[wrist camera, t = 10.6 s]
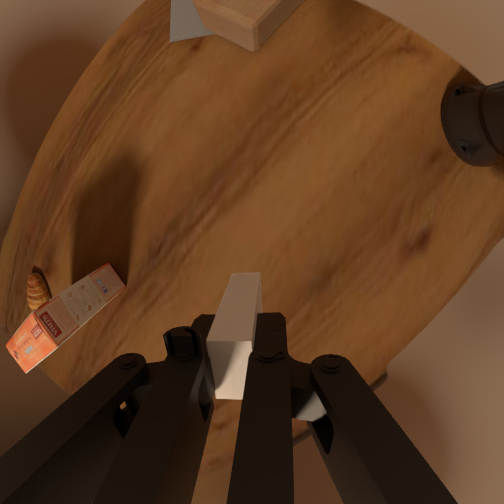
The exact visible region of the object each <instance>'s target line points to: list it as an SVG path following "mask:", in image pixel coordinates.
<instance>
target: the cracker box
mask: <svg viewBox="0 0 504 504" xmlns="http://www.w3.org/2000/svg"><path fill="white" fill-rule="evenodd" d="M125 288H126V286H125V284H124V283H123V282H122V280H121V279H120V278H119V276H118V275H117V273H116V272H115V270H114V269H113V268H112V266H111V265H110V263H107V264H105V265H103V266H102V267H100V268H98V269H97V270H95V271H94V272H92V273H91V274H89V275H87V276H86V277H84V278H82V279H81V280H79V281H78V282H76V283H75V284H73V285H71V286H70V287H68V288H67V289H65V290H64V291H62V292H61V293H59V294H58V295H56V296H55V297H53V298H52V299H50V300H49V301H47V302H45V303H44V304H43V305H41V306H40V307H38V308H37V309H35V310H34V311H32V313H31V314H30V315H29V316H28V317H27V319H26V320H25V321H24V322H23V324H22V325H21V326H20V327H19V329H18V330H17V331H16V333H15V334H14V335H13V336H12V337H11V339H10V340H9V341H8V343H7V344H6V347H7V349H8V350H9V352H10V353H11V355H12V356H13V357H14V359H15V360H16V361H17V363H18V364H19V365H20V367H21V368H22V369H23V371H24V372H25V373H27V372H29V371H30V370H31V369H32V368H33V367H35V366H36V365H37V364H39V363H40V362H41V361H42V360H43V359H45V358H46V357H47V356H48V355H50V354H51V353H52V352H53V351H54V350H56V349H57V348H58V347H59V346H60V345H61V344H63V343H64V342H65V341H66V340H67V339H68V338H69V337H70V336H72V335H73V334H74V333H75V332H76V331H77V330H78V329H79V328H80V327H82V326H83V325H84V324H85V323H86V322H87V321H88V320H89V319H90V318H92V317H93V316H94V315H95V314H96V313H97V312H98V311H100V310H101V309H102V308H103V307H104V306H105V305H106V304H108V303H109V302H110V301H111V300H112V299H113V298H114V297H116V296H117V295H118V294H119V293H120V292H121V291H123V290H124V289H125Z"/></svg>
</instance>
